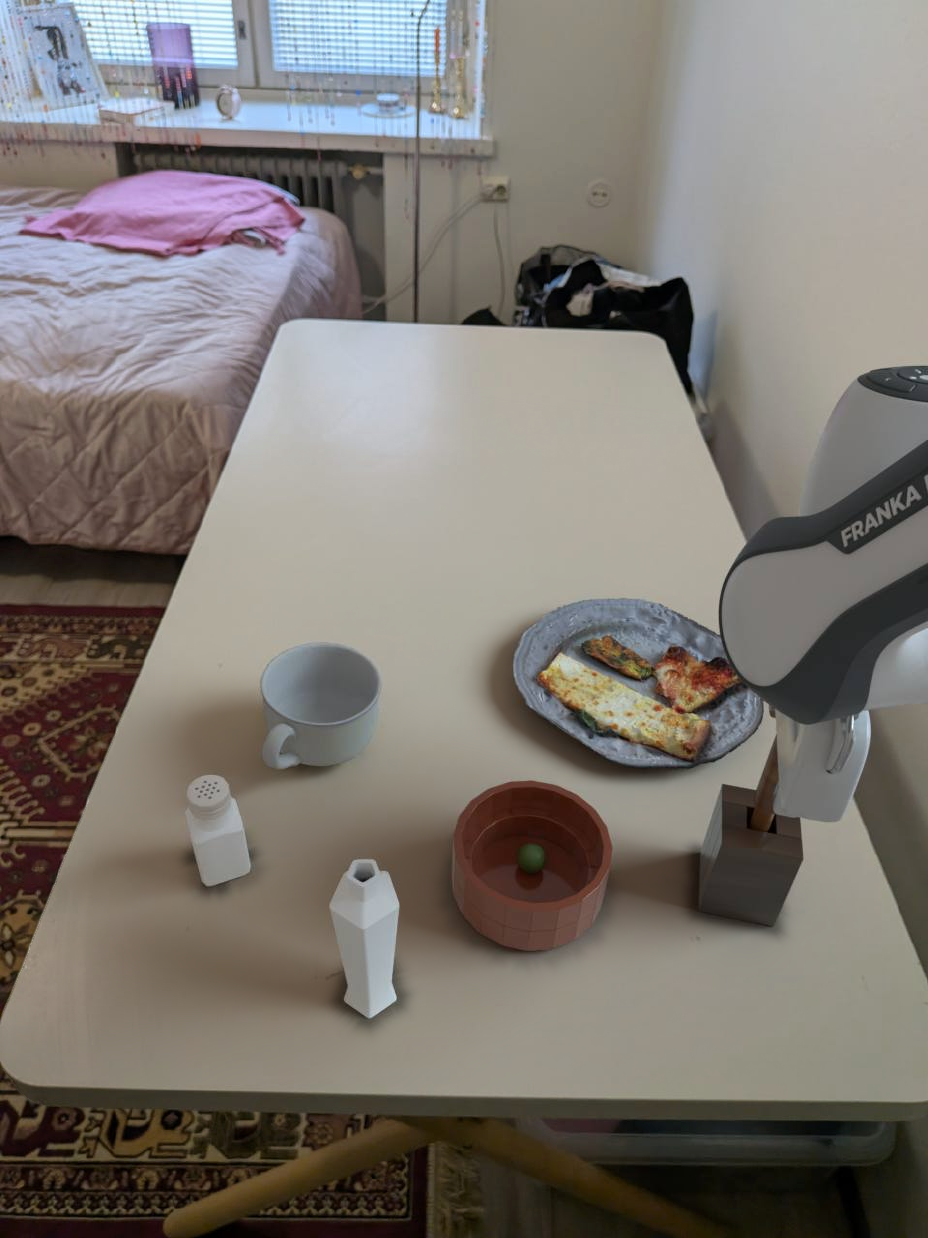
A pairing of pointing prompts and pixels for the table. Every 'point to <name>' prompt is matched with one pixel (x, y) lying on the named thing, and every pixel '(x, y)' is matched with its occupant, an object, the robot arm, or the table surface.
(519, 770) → the table surface
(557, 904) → the bowl
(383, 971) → the white faceted bottle
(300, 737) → the teacup
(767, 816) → the stirring stick
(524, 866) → the bead
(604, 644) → the food plate
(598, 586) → the table surface
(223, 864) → the salt shaker
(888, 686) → the robot arm
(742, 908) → the utensil block
